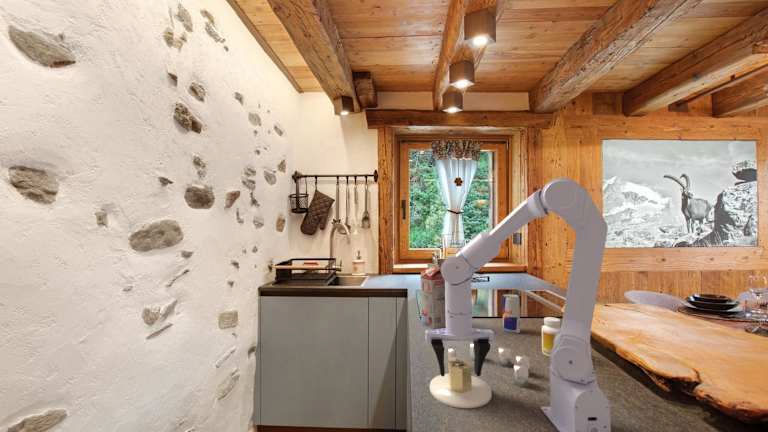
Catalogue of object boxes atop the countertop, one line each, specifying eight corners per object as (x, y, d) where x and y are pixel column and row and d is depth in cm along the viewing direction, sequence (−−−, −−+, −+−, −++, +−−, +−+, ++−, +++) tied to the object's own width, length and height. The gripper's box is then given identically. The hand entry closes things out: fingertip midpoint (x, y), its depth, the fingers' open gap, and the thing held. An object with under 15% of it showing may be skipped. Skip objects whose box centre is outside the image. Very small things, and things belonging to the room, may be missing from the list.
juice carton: (432, 329, 108) (431, 265, 109) (421, 324, 114) (420, 263, 115) (447, 326, 111) (446, 264, 112) (435, 321, 117) (434, 262, 118)
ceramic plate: (500, 408, 61) (500, 404, 61) (434, 408, 61) (434, 404, 61) (481, 376, 74) (481, 373, 74) (426, 376, 74) (426, 373, 74)
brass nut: (473, 393, 65) (472, 368, 65) (452, 393, 65) (451, 368, 65) (467, 381, 70) (466, 358, 70) (447, 381, 70) (447, 358, 71)
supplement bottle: (567, 359, 83) (566, 322, 83) (545, 357, 84) (544, 321, 85) (560, 351, 88) (559, 316, 89) (539, 350, 89) (538, 315, 90)
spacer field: (542, 387, 69) (541, 368, 69) (458, 387, 69) (458, 369, 69) (512, 356, 85) (512, 341, 86) (445, 356, 86) (444, 341, 86)
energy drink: (499, 330, 107) (498, 294, 107) (511, 327, 109) (510, 293, 109) (512, 335, 102) (511, 297, 102) (523, 332, 104) (522, 296, 104)
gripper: (486, 306, 72) (487, 365, 72) (423, 306, 72) (424, 365, 72) (496, 314, 65) (498, 380, 65) (427, 315, 65) (428, 381, 65)
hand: (459, 374), depth 68 cm, fingers open, 7 cm apart
